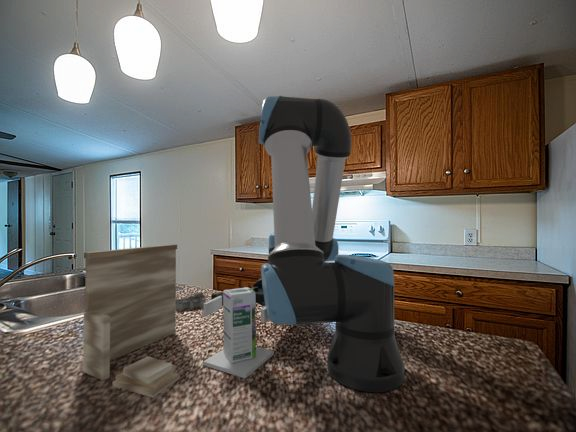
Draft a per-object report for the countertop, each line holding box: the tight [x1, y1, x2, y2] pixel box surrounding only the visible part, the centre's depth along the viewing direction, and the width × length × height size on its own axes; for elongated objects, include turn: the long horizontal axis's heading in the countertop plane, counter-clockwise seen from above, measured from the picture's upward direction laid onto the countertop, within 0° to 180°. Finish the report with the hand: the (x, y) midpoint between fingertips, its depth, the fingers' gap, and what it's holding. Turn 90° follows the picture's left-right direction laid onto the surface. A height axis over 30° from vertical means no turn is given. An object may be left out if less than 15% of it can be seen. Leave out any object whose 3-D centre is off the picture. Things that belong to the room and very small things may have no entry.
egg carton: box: [176, 291, 207, 311], centre depth 101 cm, size 11×8×4 cm
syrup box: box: [222, 286, 257, 364], centre depth 62 cm, size 6×6×14 cm
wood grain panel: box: [82, 243, 178, 381], centre depth 66 cm, size 8×23×24 cm, turn 153°
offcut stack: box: [112, 355, 181, 398], centre depth 53 cm, size 10×7×4 cm
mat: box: [202, 346, 275, 379], centre depth 62 cm, size 11×11×1 cm
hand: (232, 313), depth 59 cm, fingers open, 13 cm apart
